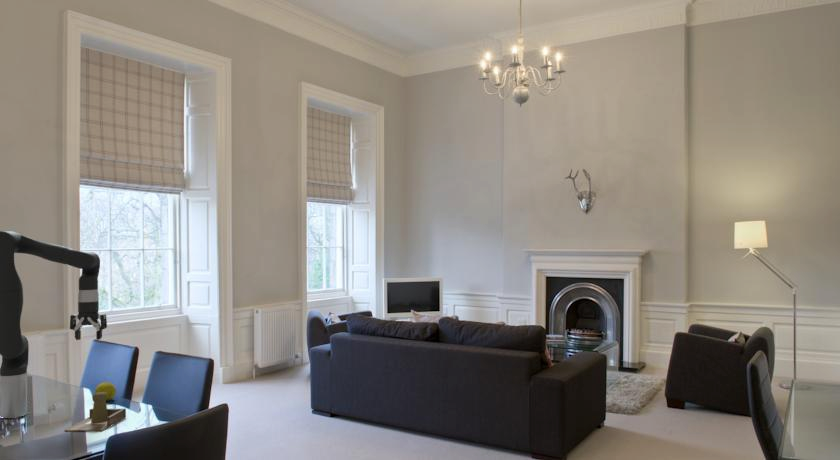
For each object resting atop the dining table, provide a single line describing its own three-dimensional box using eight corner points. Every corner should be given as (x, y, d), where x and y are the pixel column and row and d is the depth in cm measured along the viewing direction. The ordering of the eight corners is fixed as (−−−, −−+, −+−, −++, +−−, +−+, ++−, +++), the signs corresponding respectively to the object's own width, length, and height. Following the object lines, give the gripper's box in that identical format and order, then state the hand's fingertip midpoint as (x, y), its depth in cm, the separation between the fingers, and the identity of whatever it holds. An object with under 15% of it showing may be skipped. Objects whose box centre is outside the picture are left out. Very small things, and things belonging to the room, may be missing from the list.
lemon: (119, 400, 273) (119, 382, 273) (100, 404, 267) (100, 385, 267) (110, 396, 280) (110, 379, 280) (91, 399, 275) (91, 381, 275)
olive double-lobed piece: (87, 422, 238) (87, 394, 238) (98, 418, 244) (98, 390, 244) (101, 423, 237) (101, 394, 237) (112, 419, 243) (112, 391, 243)
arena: (64, 431, 229) (64, 422, 230) (91, 417, 247) (91, 408, 247) (101, 431, 229) (101, 422, 229) (125, 417, 247) (125, 408, 247)
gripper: (110, 299, 259) (110, 338, 259) (76, 299, 259) (76, 338, 259) (100, 301, 251) (100, 341, 251) (66, 301, 251) (66, 341, 251)
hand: (88, 339), depth 255 cm, fingers open, 8 cm apart
